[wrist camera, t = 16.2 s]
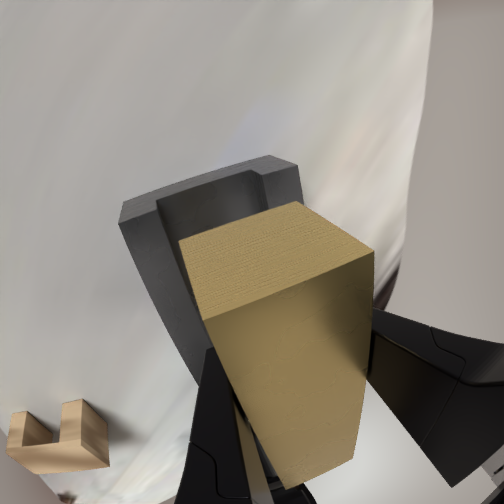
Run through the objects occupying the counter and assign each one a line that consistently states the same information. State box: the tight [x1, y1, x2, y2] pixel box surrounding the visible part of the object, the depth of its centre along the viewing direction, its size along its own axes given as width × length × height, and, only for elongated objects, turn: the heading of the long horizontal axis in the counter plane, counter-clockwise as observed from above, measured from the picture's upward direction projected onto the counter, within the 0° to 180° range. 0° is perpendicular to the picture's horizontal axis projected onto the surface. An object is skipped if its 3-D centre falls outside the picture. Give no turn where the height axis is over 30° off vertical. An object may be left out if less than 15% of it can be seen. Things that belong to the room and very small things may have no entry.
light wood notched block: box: [6, 399, 110, 474], centre depth 18 cm, size 4×9×5 cm, turn 102°
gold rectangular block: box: [179, 201, 374, 490], centre depth 10 cm, size 12×4×4 cm, turn 12°
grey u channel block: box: [118, 155, 304, 386], centre depth 17 cm, size 12×8×4 cm
